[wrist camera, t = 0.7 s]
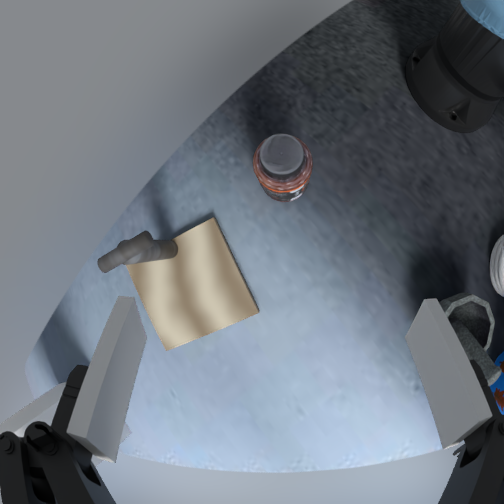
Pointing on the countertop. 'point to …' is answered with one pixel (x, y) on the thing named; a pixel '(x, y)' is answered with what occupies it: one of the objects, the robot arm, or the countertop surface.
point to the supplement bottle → (283, 166)
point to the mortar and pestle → (473, 329)
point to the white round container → (498, 266)
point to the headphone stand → (185, 282)
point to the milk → (44, 415)
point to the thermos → (499, 384)
